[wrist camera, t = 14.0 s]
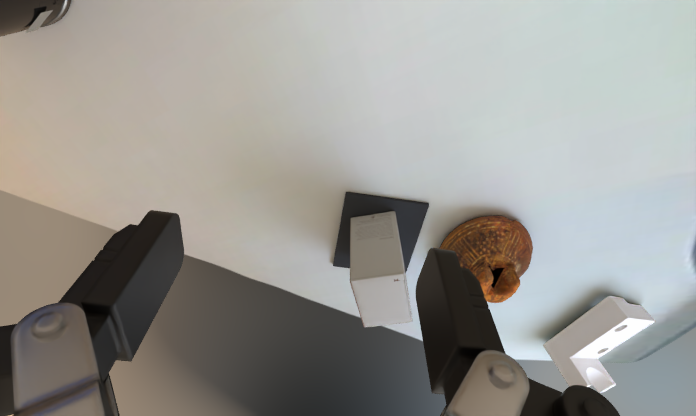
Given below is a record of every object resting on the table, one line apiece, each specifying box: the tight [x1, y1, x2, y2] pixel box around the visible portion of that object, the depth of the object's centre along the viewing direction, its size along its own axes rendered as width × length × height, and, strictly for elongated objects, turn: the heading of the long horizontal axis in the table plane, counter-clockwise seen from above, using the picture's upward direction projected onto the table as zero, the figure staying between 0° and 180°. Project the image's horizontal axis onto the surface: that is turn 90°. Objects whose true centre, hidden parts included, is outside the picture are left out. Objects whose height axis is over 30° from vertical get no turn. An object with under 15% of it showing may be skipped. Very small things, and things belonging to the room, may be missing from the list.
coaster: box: [333, 192, 429, 274], centre depth 48 cm, size 10×12×1 cm
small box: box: [350, 211, 412, 327], centre depth 43 cm, size 8×6×10 cm
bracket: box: [543, 296, 655, 393], centre depth 54 cm, size 13×7×8 cm, turn 154°
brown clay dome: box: [440, 216, 533, 303], centre depth 46 cm, size 12×12×7 cm
